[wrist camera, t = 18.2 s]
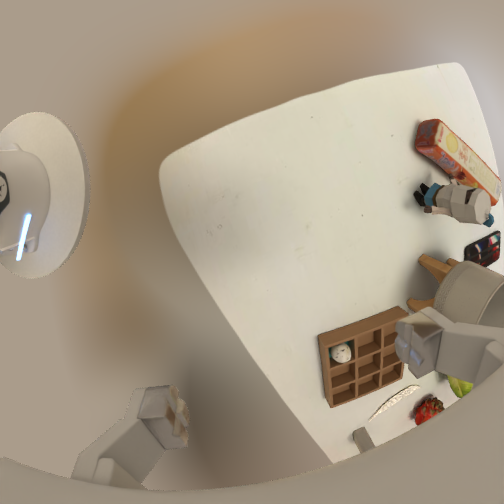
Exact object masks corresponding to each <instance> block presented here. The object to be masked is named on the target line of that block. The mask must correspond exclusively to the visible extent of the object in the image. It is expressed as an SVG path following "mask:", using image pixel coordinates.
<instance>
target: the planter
mask: <svg viewBox="0 0 504 504" xmlns="http://www.w3.org/2000/svg"><path fill="white" fill-rule="evenodd" d="M418 260H419V263H420V265H422V266H424V267H425V268H426V269H428V270H429V271H430V272H431V273H432V274H433V275H434V277H435V278H436V279H437V281H438V282H439V284H440V286H439V288H438V290H437V293H436V296H435V298H432V299H429V300H424V301H419V300H414V299H412V298H410V299H409V300H408V301H407V305H408V307H409V308H410V309H412V310H413V311H414V312H418V311H420V310H422V309H424V308H426V307H432V308H433V309H435V310H436V311H438V312H439V313H440V314H442V315H443V316H445V317H446V318H448V319H449V320H450V321H452V322H453V323H457V322H461V323H468V324H476V325H484V326H492V327H500V328H504V276H503V275H501V274H499V273H496V272H494V271H492V270H490V269H488V268H485V267H483V266H481V265H478V264H476V263H474V262H471V261H463V262H458V261H456V260H454V259H451V258H449V259H448V261H447V262H446V263H447V264H445V263H442V262H440V261H438V260H436V259H434V258H431V257H429V256H427V255H424V254H423V255H422V256H421V257H420V258H419V259H418Z"/></svg>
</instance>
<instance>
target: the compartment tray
mask: <svg viewBox="0 0 504 504" xmlns="http://www.w3.org/2000/svg"><path fill="white" fill-rule="evenodd" d="M406 317H408V313H407V312H406V311H404V310H403V309H402V308H400V307H399V306H397V307H394V308H392V309H389V310H387V311H384V312H382V313H379V314H377V315H374V316H372V317H369V318H366V319H364V320H361V321H358V322H355V323H353V324H350V325H347V326H344V327H341V328H338V329H335V330H332V331H329V332H326V333H323V334H320V335H318V341H319V348H320V356H321V364H322V372H323V381H324V390H325V398H326V400H327V402H328V404H329V406H330V408H333V407H336V406H339V405H342V404H344V403H347V402H350V401H352V400H355V399H357V398H360V397H362V396H365V395H367V394H369V393H372V392H374V391H376V390H379V389H381V388H383V387H385V386H387V385H390V384H392V383H394V382H396V381H398V380H400V379H402V376H403V369H404V363H403V362H401V360H400V359H399V358H398V356H397V354H396V351H395V339H396V337H397V336H398V333H397V332H396V331H395V325H396V323H397V321H399V320H401V319H403V318H406ZM341 343H345V344H347V345H348V346H349V348H350V351H351V359H350V360H349V361H348V362H346V363H340V362H337V361H336V360H334V359H333V358H332V356H331V348H332V346H335V345H338V344H341Z"/></svg>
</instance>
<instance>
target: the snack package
mask: <svg viewBox="0 0 504 504" xmlns="http://www.w3.org/2000/svg"><path fill="white" fill-rule="evenodd" d="M415 146H416V148H417V150H418V151H419V152H420V153H422V154H424V155H425V156H427V157H428V158H430V159H431V160H432V161H434V162H435V163H436V164H437V165H439V166H440V167H441V168H442V169H443V170H444V171H446V172H447V173H448V174H450V173H451V174H452V176H453V177H454V179H456V181H457V182H458V183H459V184H460V185H465V186H469V187H473V188H480V189H483V190H485V191H486V193H487V194H488V195H489V196H490V201H491V206H494V205H496V203H497V202H498V200H499V197H500V193H501V180H500V179H499V177H497V176H496V175H495V173H494V172H493V171H492V170H491V169H490V168H489V167H488V166H487V165H486V163H485V162H484V161H483V160H482V159H481V158H480V157H479V156H478V155H477V154H476V153H475V152H474V151H473V150H472V149H471V148H470V147H469V146H468V145H467V144H466V143H465V142H464V141H463V140H461V139H460V138H459V137H458V136H457V135H456V134H455V133H454V132H452V131H451V130H450V129H449V128H448V127H447V126H446V125H445V124H444V123H443V122H442V121H441V120H439V119H431V120H426V121H423V122H422V123H421V124H420V125H419V127H418V130H417V135H416V140H415Z"/></svg>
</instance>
